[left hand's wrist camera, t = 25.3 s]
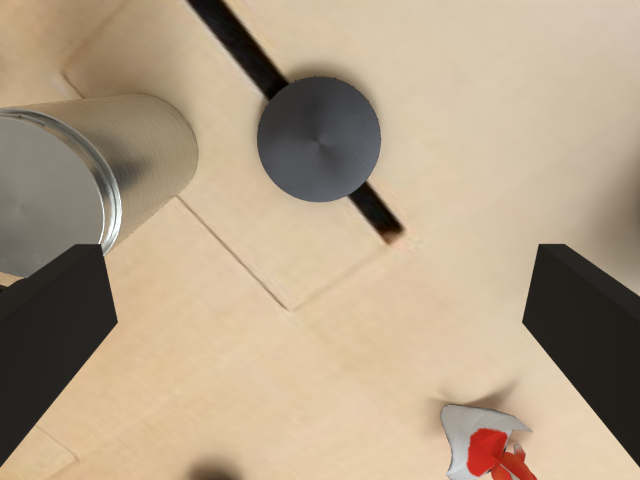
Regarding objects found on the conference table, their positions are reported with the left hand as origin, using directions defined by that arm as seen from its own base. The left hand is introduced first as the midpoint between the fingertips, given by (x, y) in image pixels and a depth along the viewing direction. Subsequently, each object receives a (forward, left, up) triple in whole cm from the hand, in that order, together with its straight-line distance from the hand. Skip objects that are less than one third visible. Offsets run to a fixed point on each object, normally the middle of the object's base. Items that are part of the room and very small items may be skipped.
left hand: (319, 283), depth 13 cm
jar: (+17, 0, -29) cm, 33 cm away
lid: (0, 0, -28) cm, 28 cm away
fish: (-19, +38, -29) cm, 51 cm away
